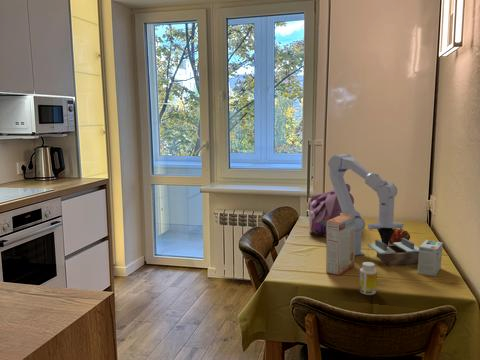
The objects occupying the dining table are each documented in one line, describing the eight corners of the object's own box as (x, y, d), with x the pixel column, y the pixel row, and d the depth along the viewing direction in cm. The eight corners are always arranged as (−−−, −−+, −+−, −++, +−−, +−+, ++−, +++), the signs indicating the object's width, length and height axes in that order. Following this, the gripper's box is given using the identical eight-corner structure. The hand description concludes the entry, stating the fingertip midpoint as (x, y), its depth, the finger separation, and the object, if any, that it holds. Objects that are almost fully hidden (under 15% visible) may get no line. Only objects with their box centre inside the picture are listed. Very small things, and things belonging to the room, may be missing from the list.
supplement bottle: (378, 292, 149) (380, 263, 148) (371, 297, 145) (372, 267, 144) (363, 287, 153) (364, 259, 151) (356, 292, 149) (357, 263, 147)
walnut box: (390, 266, 174) (390, 254, 174) (376, 256, 186) (377, 245, 185) (422, 264, 176) (423, 252, 176) (407, 254, 188) (407, 243, 187)
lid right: (407, 252, 175) (407, 245, 174) (392, 243, 186) (393, 237, 186) (422, 251, 176) (423, 244, 175) (407, 243, 187) (407, 236, 187)
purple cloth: (348, 251, 210) (363, 196, 202) (300, 239, 214) (312, 185, 206) (347, 226, 243) (360, 178, 235) (306, 216, 247) (316, 169, 239)
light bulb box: (423, 265, 175) (424, 239, 174) (441, 268, 172) (443, 242, 170) (417, 273, 167) (418, 246, 165) (435, 276, 163) (437, 249, 161)
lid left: (379, 254, 173) (380, 246, 173) (367, 245, 185) (367, 238, 184) (395, 253, 174) (396, 245, 173) (381, 244, 186) (382, 237, 185)
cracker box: (341, 263, 179) (342, 213, 176) (354, 266, 175) (356, 215, 172) (324, 272, 168) (325, 220, 165) (339, 276, 164) (340, 222, 161)
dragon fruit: (412, 249, 201) (385, 251, 204) (409, 235, 207) (383, 236, 210) (411, 238, 195) (383, 239, 199) (409, 223, 201) (382, 225, 205)
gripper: (373, 216, 172) (372, 249, 174) (408, 214, 174) (406, 247, 176) (366, 212, 179) (365, 244, 181) (399, 211, 181) (397, 242, 183)
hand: (384, 245), depth 179 cm, fingers closed
